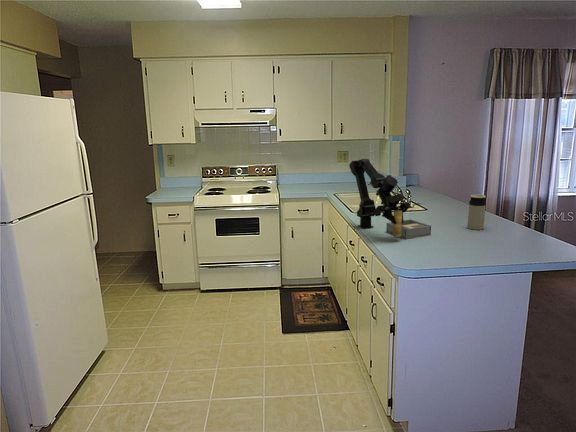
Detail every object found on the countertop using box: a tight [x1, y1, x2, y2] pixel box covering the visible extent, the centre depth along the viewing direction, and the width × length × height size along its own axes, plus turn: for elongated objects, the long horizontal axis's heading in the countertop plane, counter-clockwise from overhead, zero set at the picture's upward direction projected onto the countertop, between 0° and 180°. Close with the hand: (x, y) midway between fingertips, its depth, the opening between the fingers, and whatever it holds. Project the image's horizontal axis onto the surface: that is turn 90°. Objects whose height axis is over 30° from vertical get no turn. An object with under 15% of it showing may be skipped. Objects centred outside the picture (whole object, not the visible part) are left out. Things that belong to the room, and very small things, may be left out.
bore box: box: [385, 218, 432, 240], centre depth 215 cm, size 16×16×5 cm
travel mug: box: [467, 194, 487, 231], centre depth 219 cm, size 8×8×18 cm
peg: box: [392, 210, 402, 238], centre depth 201 cm, size 4×4×12 cm
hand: (399, 223), depth 200 cm, fingers closed on peg, 4 cm apart
